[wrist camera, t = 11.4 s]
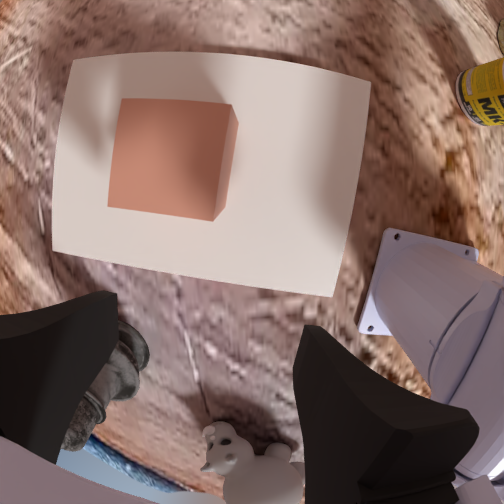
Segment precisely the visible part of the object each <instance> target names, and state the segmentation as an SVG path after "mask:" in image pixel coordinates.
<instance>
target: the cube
mask: <svg viewBox="0 0 504 504" xmlns="http://www.w3.org/2000/svg"><path fill="white" fill-rule="evenodd" d="M238 125H239V122H238V120H237V117H236V114H235V112H234V109H233V107H232V104H223V103H214V102H203V101H191V100H174V99H146V98H122V100H121V105H120V110H119V116H118V121H117V127H116V134H115V140H114V147H113V154H112V162H111V171H110V181H109V192H108V205H107V207H113V208H121V209H128V210H135V211H143V212H150V213H157V214H164V215H171V216H178V217H185V218H192V219H198V220H205V221H212V222H213V221H214V220H215V219H216V218H217V216H218V215H219V214H220V213H221V212H222V211H223V209H224V208H225V206H226V200H227V193H228V187H229V180H230V174H231V167H232V161H233V155H234V149H235V143H236V137H237V131H238Z"/></svg>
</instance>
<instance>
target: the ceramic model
mask: <svg viewBox="0 0 504 504" xmlns="http://www.w3.org/2000/svg"><path fill="white" fill-rule="evenodd" d="M498 39H499V45H500V48H501V51H502V53H503V54H504V19H503V20H502V21H501V22H500V27H499V30H498Z"/></svg>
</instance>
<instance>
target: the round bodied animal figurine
mask: <svg viewBox="0 0 504 504" xmlns="http://www.w3.org/2000/svg"><path fill="white" fill-rule="evenodd" d="M204 435H205V437H206V441H207V452H206V461H207V462H206V464H205V465H204V466H203V467H202V468H201V471H203V472H210V471H214V472H215V473H217V474H219V475H222V476H224V477H225V481H224V484H223V495H224V499H225V502H226V504H299V503H300V501H301V499H302V495H303V485H304V484H305V463H303V462H291V463H289V461H290V458H291V450H290V448H289V446H287V445H286V444H283V443H272V444H270V445H269V446H268V447H267V449H266V451H265V454H264V455H262V456H259V455H255V454H254V451H253V448H252V446H251V445H250V443H249V442H248V441H247V440H245V439H243V438H241V437H239V436H238V435H237V434H236V432H235V429H234V428H233V426H231V425H230V424H229V423H227V422H223V421H218V422H214V423H212V424H211V425H210V426H206V427H205V428H204V429H203V436H204Z"/></svg>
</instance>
